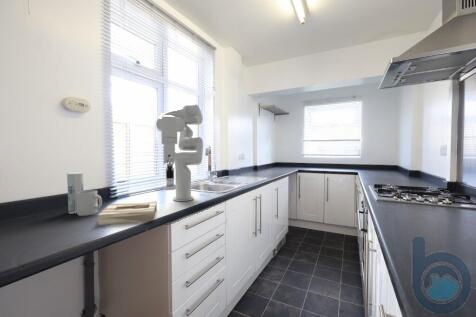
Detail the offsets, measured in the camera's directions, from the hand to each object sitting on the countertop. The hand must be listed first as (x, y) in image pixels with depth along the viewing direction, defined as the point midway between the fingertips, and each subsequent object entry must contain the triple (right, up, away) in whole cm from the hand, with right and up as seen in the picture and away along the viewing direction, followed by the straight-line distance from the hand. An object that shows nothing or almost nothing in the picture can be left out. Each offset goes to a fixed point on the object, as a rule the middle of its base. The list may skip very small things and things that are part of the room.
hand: (170, 177), depth 108 cm
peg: (0, -6, 0) cm, 6 cm away
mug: (-40, -18, 0) cm, 44 cm away
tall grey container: (-49, -18, +2) cm, 52 cm away
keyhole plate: (-17, -18, -5) cm, 26 cm away
